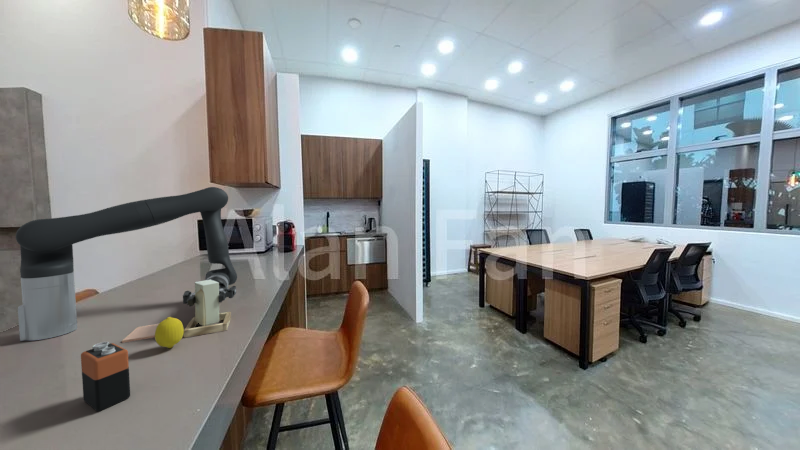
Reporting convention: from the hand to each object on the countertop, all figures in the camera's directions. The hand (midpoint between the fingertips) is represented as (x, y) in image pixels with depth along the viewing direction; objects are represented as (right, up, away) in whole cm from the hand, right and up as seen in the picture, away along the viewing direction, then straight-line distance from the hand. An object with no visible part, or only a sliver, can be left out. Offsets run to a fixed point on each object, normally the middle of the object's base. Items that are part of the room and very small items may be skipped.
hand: (205, 300), depth 78 cm
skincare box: (-1, -7, +2) cm, 8 cm away
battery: (+3, -10, -29) cm, 31 cm away
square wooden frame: (-1, -9, +3) cm, 9 cm away
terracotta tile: (-15, -9, 0) cm, 17 cm away
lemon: (-2, -9, -10) cm, 14 cm away
